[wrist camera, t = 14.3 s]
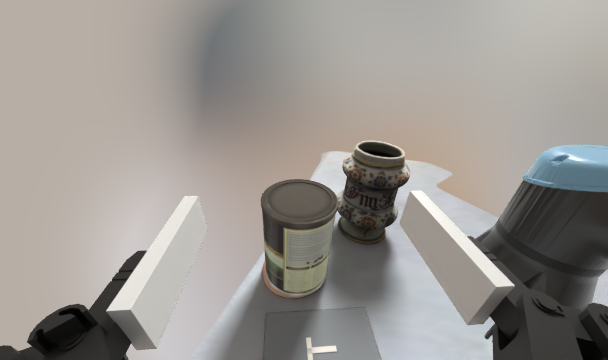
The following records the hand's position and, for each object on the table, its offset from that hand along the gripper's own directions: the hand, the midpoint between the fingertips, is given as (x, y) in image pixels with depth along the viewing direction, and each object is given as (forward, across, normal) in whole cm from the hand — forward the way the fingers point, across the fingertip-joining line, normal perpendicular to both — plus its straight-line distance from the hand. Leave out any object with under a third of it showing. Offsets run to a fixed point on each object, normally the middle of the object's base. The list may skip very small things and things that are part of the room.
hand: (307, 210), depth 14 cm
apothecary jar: (+23, +14, -24) cm, 36 cm away
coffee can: (+13, 0, -22) cm, 26 cm away
